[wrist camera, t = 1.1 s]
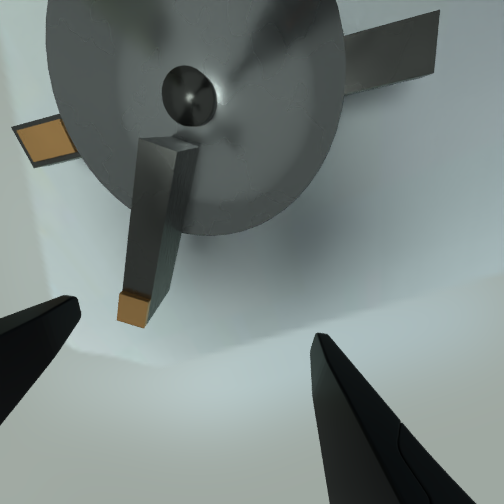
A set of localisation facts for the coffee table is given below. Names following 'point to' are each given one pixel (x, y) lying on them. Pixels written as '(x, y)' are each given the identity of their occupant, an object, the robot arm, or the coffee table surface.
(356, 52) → the pot
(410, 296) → the coffee table surface
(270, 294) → the coffee table surface
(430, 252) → the coffee table surface
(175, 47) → the lid
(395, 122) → the coffee table surface
